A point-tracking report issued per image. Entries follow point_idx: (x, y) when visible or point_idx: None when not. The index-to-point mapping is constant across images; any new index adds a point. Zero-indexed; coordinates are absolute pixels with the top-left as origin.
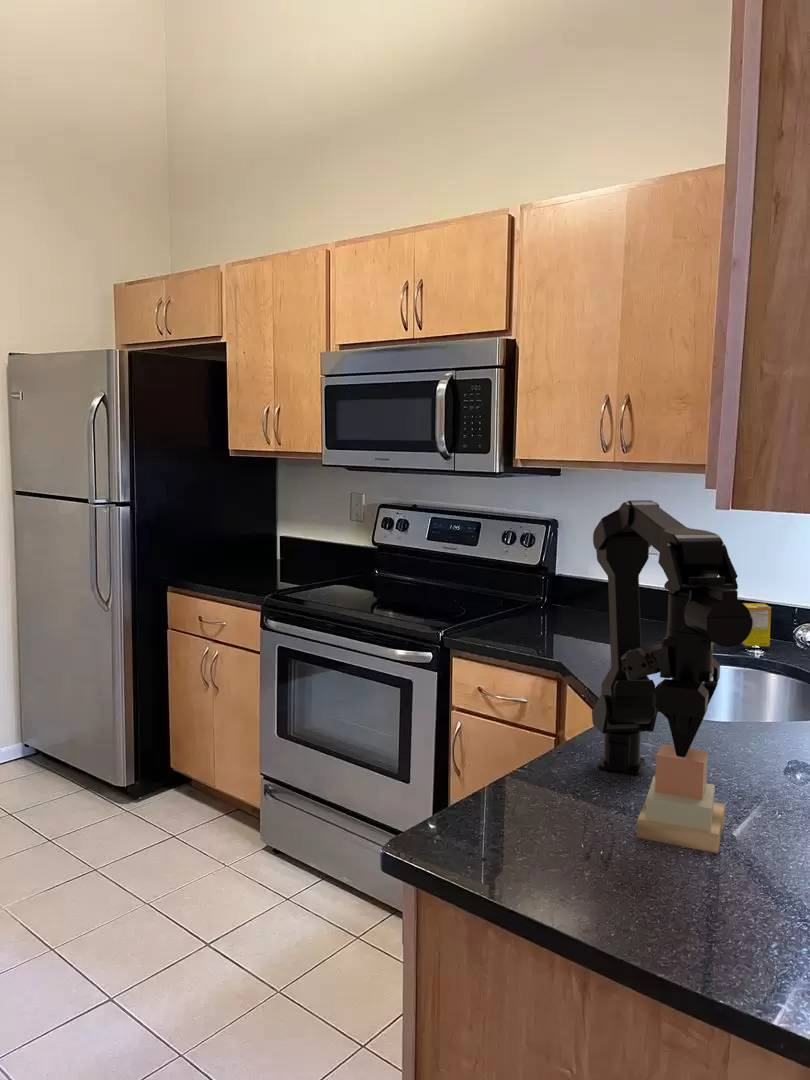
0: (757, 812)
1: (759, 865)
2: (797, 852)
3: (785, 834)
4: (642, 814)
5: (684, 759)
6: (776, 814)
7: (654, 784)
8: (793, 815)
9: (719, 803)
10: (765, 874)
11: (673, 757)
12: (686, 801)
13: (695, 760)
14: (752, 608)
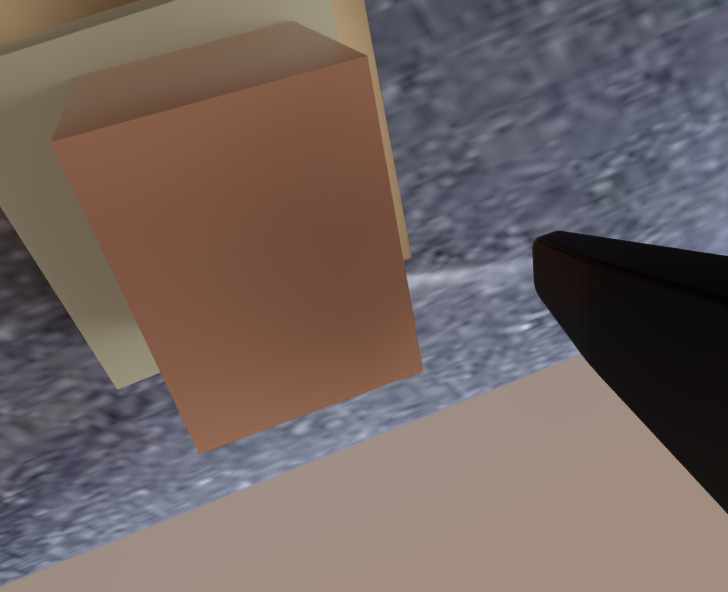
0: (513, 276)
1: (139, 434)
2: (308, 454)
3: (403, 390)
4: (7, 9)
5: (155, 351)
6: (526, 319)
7: (182, 25)
8: (542, 352)
9: (403, 239)
10: (94, 468)
11: (127, 277)
12: (92, 278)
13: (201, 403)
14: None
